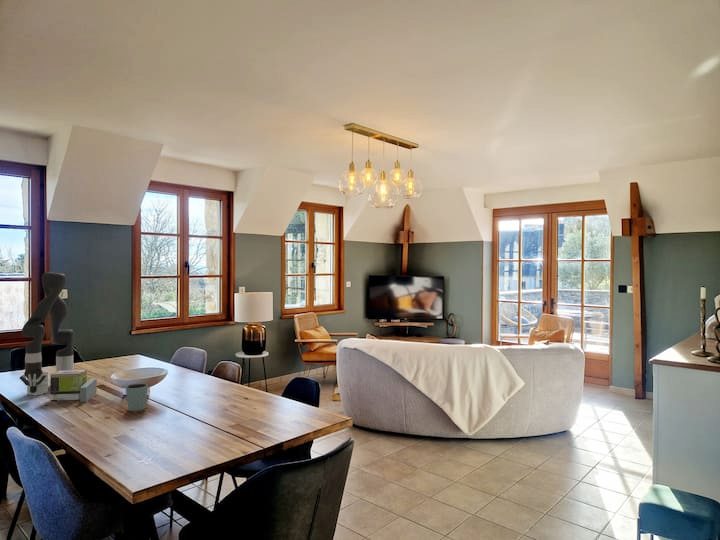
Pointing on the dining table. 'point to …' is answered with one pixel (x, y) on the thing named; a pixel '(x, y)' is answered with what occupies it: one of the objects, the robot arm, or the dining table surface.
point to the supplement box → (40, 386)
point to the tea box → (67, 384)
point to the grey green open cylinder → (136, 396)
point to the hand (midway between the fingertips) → (33, 392)
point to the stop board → (88, 390)
